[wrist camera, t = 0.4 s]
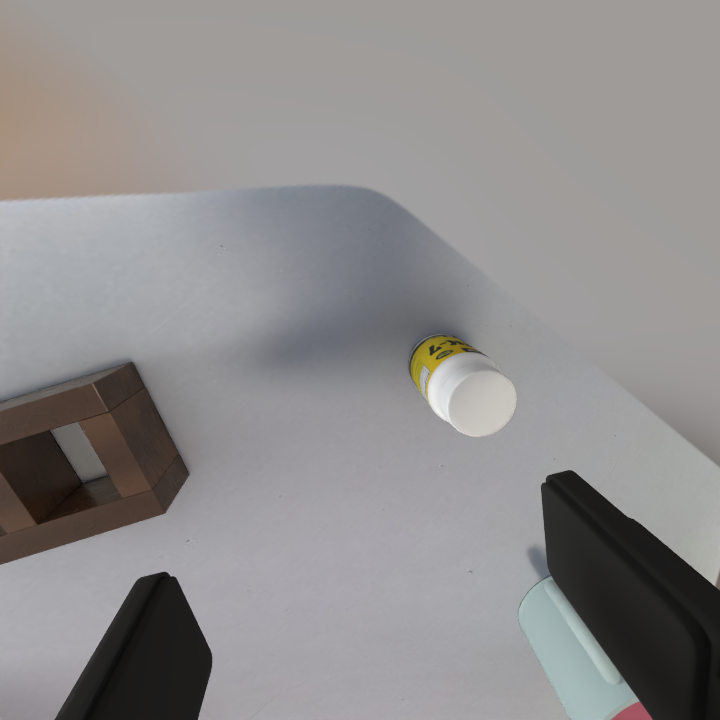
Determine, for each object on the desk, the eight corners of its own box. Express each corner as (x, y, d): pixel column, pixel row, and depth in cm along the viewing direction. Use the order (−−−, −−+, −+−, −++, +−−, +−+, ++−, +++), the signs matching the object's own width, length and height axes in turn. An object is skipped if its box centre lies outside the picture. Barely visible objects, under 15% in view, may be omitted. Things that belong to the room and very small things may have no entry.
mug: (618, 612, 37) (720, 736, 27) (539, 655, 38) (613, 790, 28) (569, 523, 33) (669, 630, 24) (483, 572, 34) (546, 696, 24)
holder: (-107, 434, 25) (-197, 471, 21) (132, 361, 25) (92, 382, 21) (-26, 541, 28) (-90, 592, 24) (189, 474, 28) (165, 513, 24)
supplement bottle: (469, 331, 27) (530, 362, 19) (465, 389, 28) (520, 441, 20) (407, 333, 27) (443, 365, 19) (406, 392, 28) (438, 446, 20)
